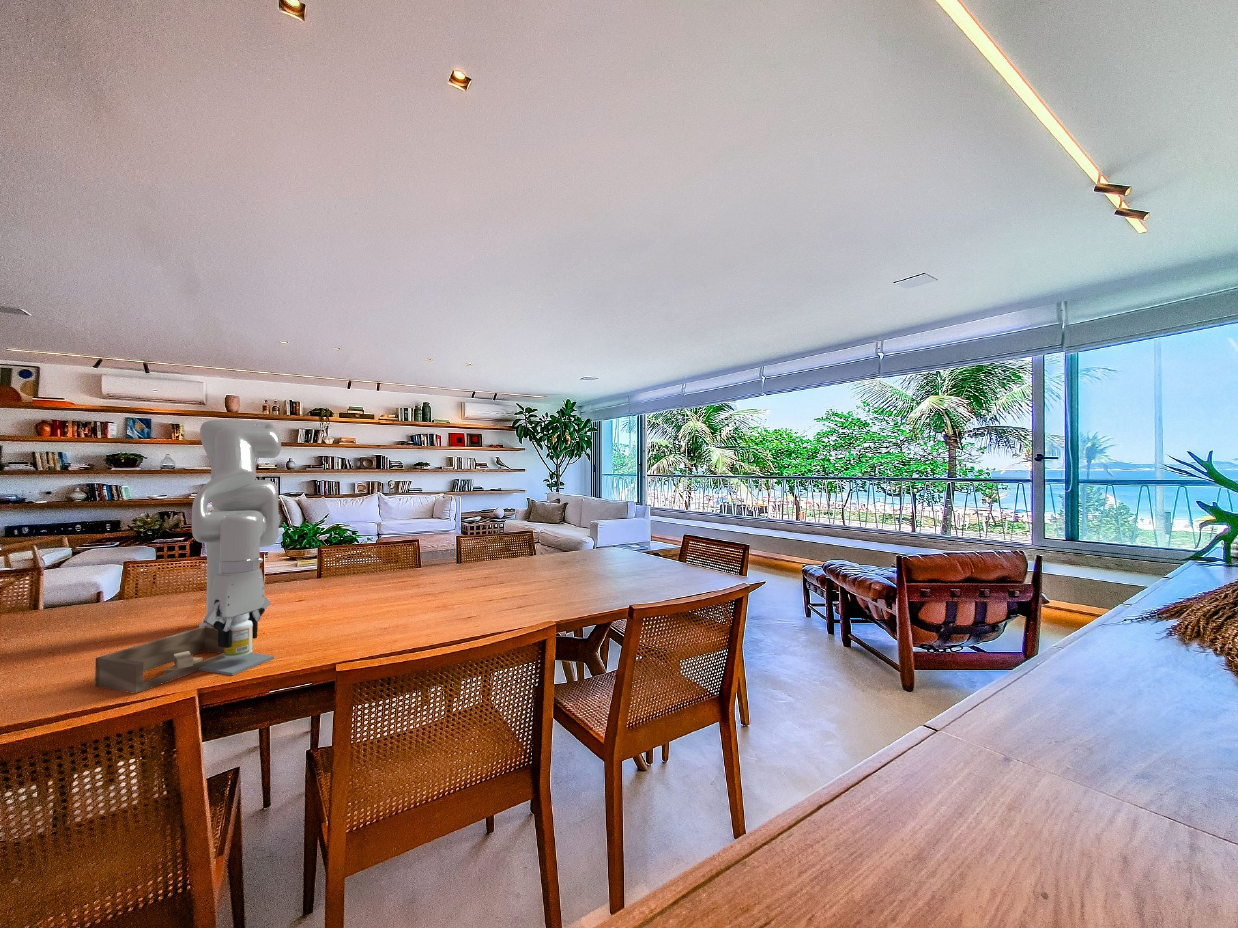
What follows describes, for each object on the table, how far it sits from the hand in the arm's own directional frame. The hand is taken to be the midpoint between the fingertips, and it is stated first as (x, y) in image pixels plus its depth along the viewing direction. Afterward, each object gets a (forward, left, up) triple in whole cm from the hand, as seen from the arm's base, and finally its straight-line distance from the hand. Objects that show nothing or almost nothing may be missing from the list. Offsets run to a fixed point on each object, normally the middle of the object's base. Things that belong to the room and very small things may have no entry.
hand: (238, 641), depth 115 cm
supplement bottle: (0, 0, -3) cm, 3 cm away
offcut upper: (+6, -8, -4) cm, 11 cm away
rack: (+6, -11, -5) cm, 14 cm away
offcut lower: (+6, -8, -6) cm, 12 cm away
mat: (0, 0, -5) cm, 5 cm away
